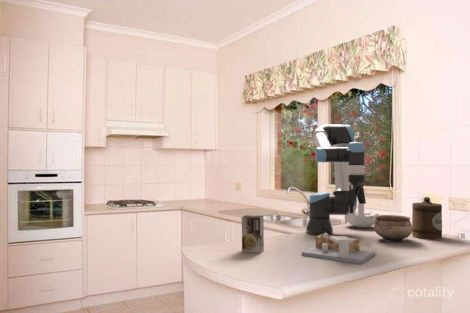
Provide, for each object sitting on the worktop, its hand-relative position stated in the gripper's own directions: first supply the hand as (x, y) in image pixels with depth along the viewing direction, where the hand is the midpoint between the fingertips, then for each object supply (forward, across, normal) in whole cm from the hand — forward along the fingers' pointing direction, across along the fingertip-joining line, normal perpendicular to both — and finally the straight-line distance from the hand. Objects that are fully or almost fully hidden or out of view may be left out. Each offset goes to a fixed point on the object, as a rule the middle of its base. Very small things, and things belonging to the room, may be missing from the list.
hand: (356, 218), depth 187 cm
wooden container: (+14, +49, -23) cm, 56 cm away
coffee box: (+14, -35, +37) cm, 53 cm away
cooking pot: (+14, +28, -10) cm, 33 cm away
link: (+12, -14, +4) cm, 19 cm away
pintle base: (+14, -20, +2) cm, 24 cm away
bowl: (+14, +59, +16) cm, 63 cm away
